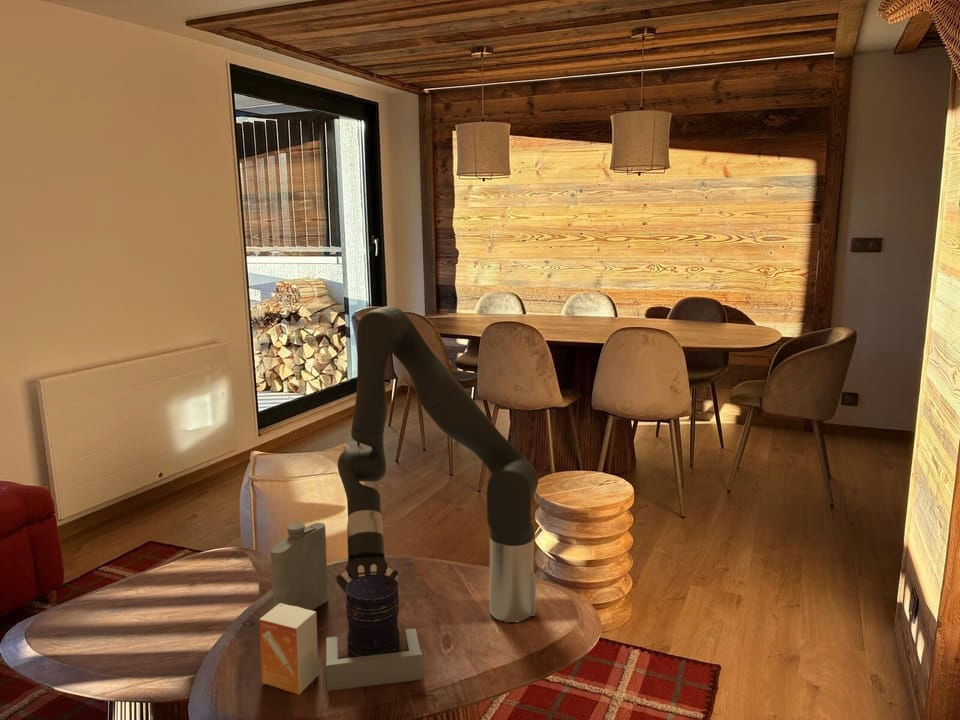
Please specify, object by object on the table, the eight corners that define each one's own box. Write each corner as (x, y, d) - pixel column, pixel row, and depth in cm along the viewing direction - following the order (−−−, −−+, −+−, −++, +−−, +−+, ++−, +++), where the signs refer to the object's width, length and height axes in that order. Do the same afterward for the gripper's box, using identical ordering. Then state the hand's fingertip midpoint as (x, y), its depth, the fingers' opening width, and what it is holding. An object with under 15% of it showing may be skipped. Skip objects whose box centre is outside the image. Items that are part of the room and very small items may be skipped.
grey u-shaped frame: (415, 646, 143) (415, 623, 142) (422, 679, 133) (422, 654, 132) (327, 656, 139) (326, 632, 138) (327, 690, 129) (326, 665, 128)
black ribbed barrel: (352, 679, 133) (350, 603, 130) (343, 649, 142) (341, 578, 139) (405, 668, 136) (404, 594, 133) (393, 640, 145) (392, 570, 142)
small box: (261, 685, 131) (257, 618, 128) (283, 665, 137) (279, 601, 134) (299, 696, 128) (296, 628, 125) (319, 675, 134) (317, 610, 131)
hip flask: (283, 635, 147) (279, 542, 143) (267, 630, 148) (262, 538, 145) (330, 598, 161) (327, 513, 157) (315, 594, 163) (312, 510, 159)
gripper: (332, 532, 148) (334, 619, 139) (398, 527, 151) (404, 613, 141) (333, 545, 154) (335, 629, 145) (396, 540, 157) (402, 623, 147)
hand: (369, 621), depth 143 cm, fingers closed
